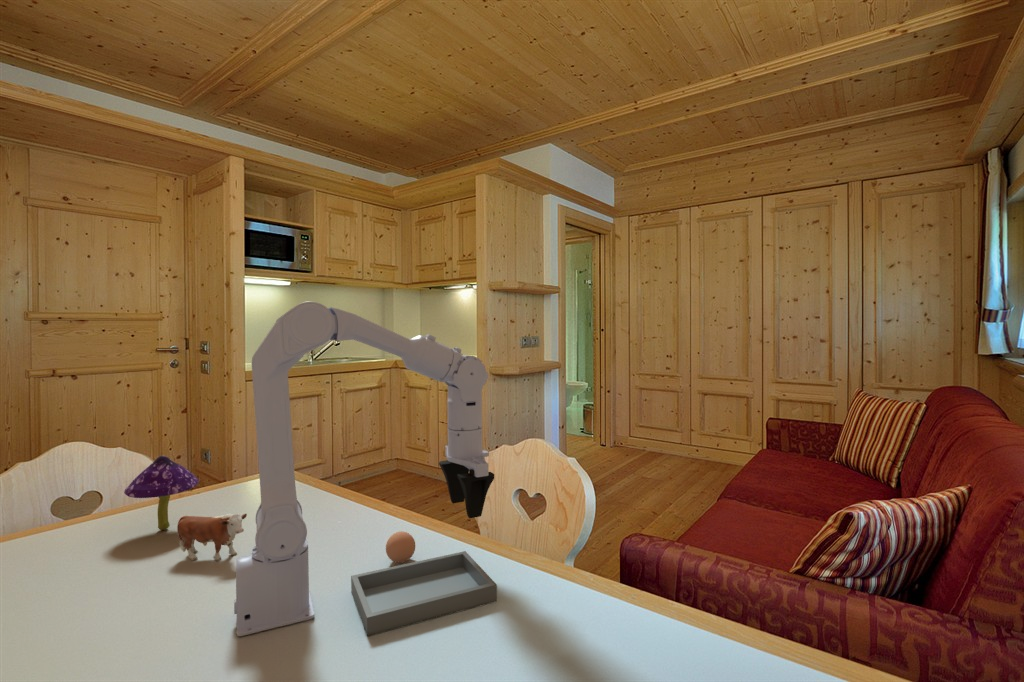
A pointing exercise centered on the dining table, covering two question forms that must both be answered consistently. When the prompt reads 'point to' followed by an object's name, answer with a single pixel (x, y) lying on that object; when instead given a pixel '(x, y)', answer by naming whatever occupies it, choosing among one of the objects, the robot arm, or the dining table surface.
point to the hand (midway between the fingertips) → (465, 509)
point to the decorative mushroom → (161, 485)
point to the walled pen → (420, 591)
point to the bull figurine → (209, 532)
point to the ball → (400, 547)
